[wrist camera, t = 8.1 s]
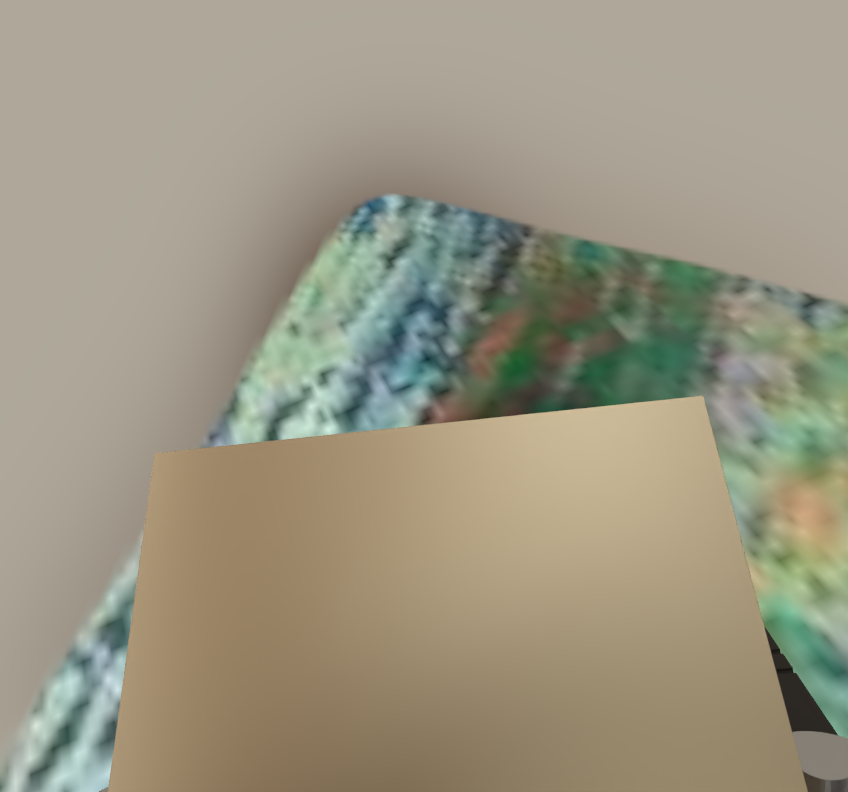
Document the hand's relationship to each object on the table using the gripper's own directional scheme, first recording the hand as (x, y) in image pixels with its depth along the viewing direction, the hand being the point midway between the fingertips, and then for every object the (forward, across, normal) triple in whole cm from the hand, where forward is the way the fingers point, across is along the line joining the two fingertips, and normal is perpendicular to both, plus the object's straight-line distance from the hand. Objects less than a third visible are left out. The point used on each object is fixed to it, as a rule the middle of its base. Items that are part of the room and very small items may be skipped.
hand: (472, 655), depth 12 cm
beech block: (+2, 0, +4) cm, 5 cm away
